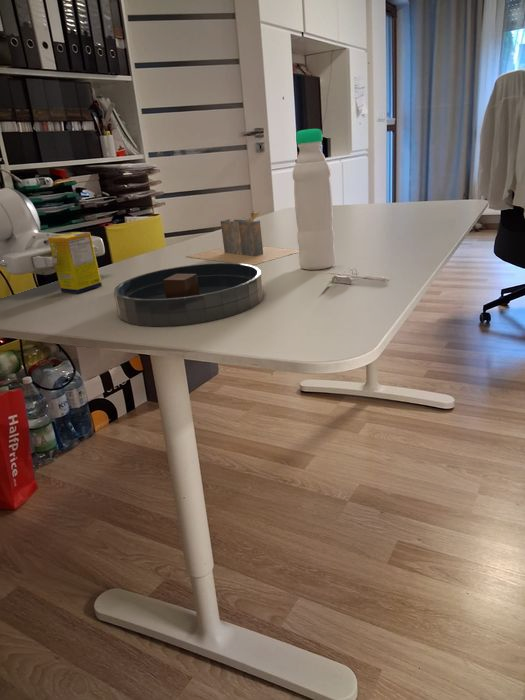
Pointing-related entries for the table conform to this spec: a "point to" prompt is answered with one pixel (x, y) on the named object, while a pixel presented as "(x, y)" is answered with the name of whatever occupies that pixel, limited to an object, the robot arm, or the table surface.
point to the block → (181, 286)
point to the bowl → (213, 302)
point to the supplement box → (75, 262)
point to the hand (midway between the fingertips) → (76, 256)
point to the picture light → (349, 277)
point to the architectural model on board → (243, 244)
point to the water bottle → (313, 203)
